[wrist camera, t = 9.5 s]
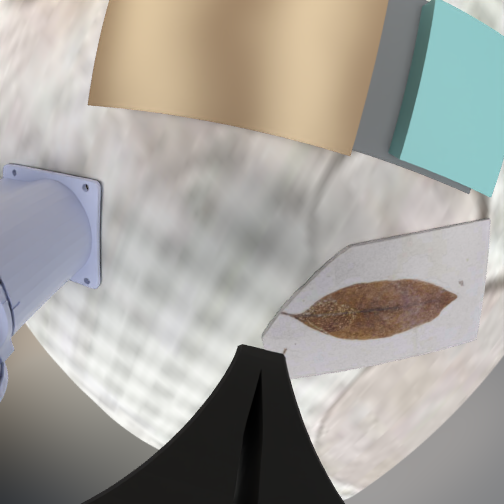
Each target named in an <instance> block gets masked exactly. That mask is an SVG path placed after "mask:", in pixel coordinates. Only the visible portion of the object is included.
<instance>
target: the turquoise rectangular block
mask: <svg viewBox="0 0 504 504" xmlns="http://www.w3.org/2000/svg"><path fill="white" fill-rule="evenodd" d="M388 153H389V154H391V155H393V156H395V157H396V158H398V159H400V160H403V161H406V162H408V163H411V164H414V165H416V166H419V167H421V168H424V169H427V170H429V171H432V172H434V173H437V174H439V175H441V176H444V177H446V178H449V179H451V180H453V181H456V182H458V183H460V184H462V185H465V186H467V187H469V188H471V189H474V190H476V191H478V192H480V193H482V194H484V195H486V196H489V197H491V196H492V193H493V190H494V187H495V185H496V182H497V178H498V175H499V172H500V169H501V166H502V162H503V159H504V36H502V35H501V34H499V33H498V32H496V31H495V30H493V29H492V28H490V27H489V26H487V25H485V24H484V23H482V22H481V21H479V20H477V19H476V18H474V17H472V16H470V15H469V14H467V13H465V12H463V11H461V10H460V9H458V8H456V7H454V6H452V5H450V4H448V3H446V2H444V1H442V0H431V1H430V2H428V3H427V4H425V5H424V6H422V10H421V16H420V22H419V28H418V33H417V38H416V43H415V48H414V53H413V58H412V63H411V67H410V72H409V76H408V80H407V85H406V89H405V93H404V97H403V101H402V105H401V109H400V113H399V117H398V120H397V124H396V128H395V131H394V135H393V138H392V142H391V145H390V149H389V152H388Z"/></svg>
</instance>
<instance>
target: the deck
mask: <svg viewBox="0 0 504 504" xmlns="http://www.w3.org/2000/svg"><path fill="white" fill-rule="evenodd" d="M388 1H389V0H109V3H108V7H107V11H106V14H105V18H104V22H103V26H102V30H101V35H100V39H99V44H98V48H97V53H96V58H95V63H94V69H93V74H92V80H91V86H90V93H89V100H88V105H91V106H103V107H113V108H123V109H132V110H140V111H148V112H155V113H162V114H169V115H176V116H182V117H188V118H194V119H199V120H205V121H210V122H216V123H221V124H226V125H231V126H236V127H240V128H245V129H250V130H254V131H259V132H263V133H267V134H271V135H275V136H280V137H284V138H287V139H291V140H295V141H299V142H303V143H307V144H310V145H314V146H317V147H321V148H324V149H328V150H331V151H335V152H338V153H341V154H345V155H348V156H350V155H351V152H352V148H353V145H354V141H355V138H356V134H357V131H358V127H359V123H360V120H361V116H362V112H363V109H364V105H365V101H366V97H367V93H368V89H369V85H370V81H371V77H372V73H373V69H374V65H375V61H376V57H377V52H378V48H379V43H380V39H381V34H382V30H383V25H384V20H385V16H386V11H387V6H388Z"/></svg>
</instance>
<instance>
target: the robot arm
mask: <svg viewBox="0 0 504 504" xmlns="http://www.w3.org/2000/svg"><path fill="white" fill-rule="evenodd" d="M16 172H17V174H16ZM86 184H87V185H88V186H89V190H88V189H87V188H86ZM100 200H101V186H100V183H99V182H98V181H96V180H92V179H87V178H82V177H77V176H72V175H67V174H62V173H57V172H52V171H47V170H42V169H36V168H31V167H25V166H20V165H14V164H6V165H5V166H4V168H3V178H2V179H0V402H1V400H2V398H3V396H4V394H5V391H6V388H7V384H8V372H7V368H6V365H5V360H6V359H7V358H8V357H9V356H10V355H11V353H12V352H13V351H14V347H13V345H12V341H11V337H12V336H13V335H14V334H15V333H16V332H17V331H18V330H19V328H20V327H21V326H22V325H23V324H24V323H25V322H26V321H27V320H28V319H29V318H30V317H31V316H32V315H33V314H34V313H35V312H36V311H37V310H38V309H39V308H40V307H41V306H42V305H43V304H44V303H45V302H46V301H47V300H48V299H49V298H50V297H51V296H52V295H53V294H54V293H55V292H56V291H57V290H58V289H59V288H61V287H62V286H63V285H64V284H65V283H66V282H67V281H68V280H71V281H74V282H76V283H79V284H82V285H85V286H88V287H90V288H94V289H96V288H98V286H99V285H100ZM87 279H89V281H88V280H87ZM82 504H345V503H344V501H343V500H342V498H341V497H340V495H339V494H338V492H337V491H336V489H335V487H334V486H333V484H332V482H331V480H330V479H329V477H328V475H327V473H326V471H325V469H324V468H323V466H322V464H321V462H320V460H319V458H318V456H317V453H316V451H315V449H314V447H313V445H312V442H311V440H310V437H309V435H308V433H307V430H306V427H305V425H304V422H303V420H302V417H301V414H300V411H299V408H298V405H297V402H296V399H295V395H294V392H293V388H292V385H291V381H290V377H289V372H288V368H287V363H286V357H285V356H284V354H282V353H277V352H273V351H269V350H264V349H260V348H256V347H252V346H248V345H244V344H242V345H239V346H238V348H237V351H236V354H235V356H234V358H233V360H232V362H231V364H230V366H229V368H228V369H227V371H226V373H225V374H224V376H223V378H222V379H221V381H220V382H219V383H218V385H217V386H216V388H215V389H214V391H213V392H212V394H211V395H210V396H209V398H208V399H207V400H206V401H205V402H204V404H203V405H202V406H201V407H200V409H199V410H198V411H197V412H196V413H195V415H194V416H193V417H192V418H191V419H190V420H189V421H188V422H187V424H186V425H185V426H184V427H183V428H182V429H181V430H180V431H179V432H178V433H177V434H176V435H175V436H174V437H173V438H172V439H171V440H170V441H169V442H168V443H167V444H165V445H164V446H163V447H162V448H161V449H160V450H159V451H158V452H157V453H155V454H154V455H153V456H152V457H151V458H149V459H148V460H147V461H146V462H145V463H143V464H142V465H141V466H139V467H138V468H137V469H136V470H134V471H133V472H131V473H130V474H128V475H127V476H126V477H124V478H123V479H121V480H120V481H118V482H117V483H116V484H114V485H113V486H111V487H109V488H108V489H106V490H105V491H103V492H101V493H99V494H98V495H96V496H94V497H92V498H91V499H89V500H87V501H85V502H83V503H82Z"/></svg>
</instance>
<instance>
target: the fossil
mask: <svg viewBox="0 0 504 504" xmlns="http://www.w3.org/2000/svg"><path fill="white" fill-rule="evenodd" d="M489 239H490V219H489V218H486V219H481V220H476V221H471V222H465V223H460V224H455V225H450V226H445V227H440V228H435V229H430V230H425V231H420V232H415V233H409V234H404V235H399V236H394V237H388V238H383V239H378V240H373V241H368V242H363V243H359V244H354V245H349V246H347V247H345V248H344V249H342V250H341V251H339V252H338V253H337V254H336V255H335V256H334V257H333V258H331V259H330V260H329V261H328V262H326V263H325V264H324V265H323V266H322V267H321V268H320V269H319V270H318V271H316V272H315V273H314V275H313V276H312V277H311V278H310V279H309V280H308V281H307V282H306V283H305V284H304V285H303V286H302V287H301V288H299V289H298V290H297V291H295V293H294V294H293V295H292V296H291V297H290V299H289V300H287V301H286V302H285V303H284V305H283V306H282V307H281V309H280V310H279V311H278V312H277V314H276V315H275V316H274V318H273V319H272V320H271V321H270V323H269V324H268V326H267V328H266V329H265V331H264V332H263V334H262V341H263V345H264V348H265V350H269V351H273V352H277V353H282V354H284V356H285V357H286V363H287V368H288V372H289V377H290V379H294V378H301V377H308V376H316V375H321V374H328V373H335V372H342V371H347V370H351V369H357V368H362V367H368V366H374V365H379V364H383V363H387V362H392V361H396V360H402V359H405V358H409V357H413V356H419V355H424V354H428V353H431V352H435V351H439V350H444V349H446V348H449V347H454V346H457V345H460V344H464V343H467V342H471V341H474V340H476V338H477V333H478V328H479V322H480V315H481V309H482V302H483V296H484V289H485V281H486V272H487V263H488V253H489Z"/></svg>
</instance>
